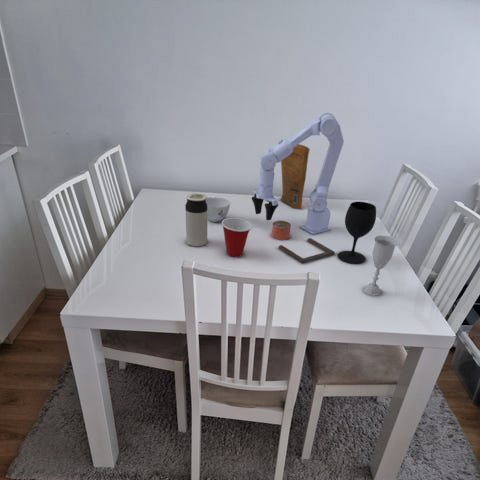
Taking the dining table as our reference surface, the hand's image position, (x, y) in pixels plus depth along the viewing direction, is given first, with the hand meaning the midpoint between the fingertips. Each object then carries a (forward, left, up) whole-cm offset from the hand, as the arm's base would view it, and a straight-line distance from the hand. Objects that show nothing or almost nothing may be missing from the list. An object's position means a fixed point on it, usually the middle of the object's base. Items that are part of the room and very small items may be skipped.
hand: (263, 216), depth 175 cm
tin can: (0, +12, -4) cm, 13 cm away
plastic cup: (+25, +17, -4) cm, 31 cm away
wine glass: (-12, +40, -4) cm, 42 cm away
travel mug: (+33, +2, -4) cm, 33 cm away
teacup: (+15, -16, -4) cm, 22 cm away
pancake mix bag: (-27, -16, -4) cm, 32 cm away
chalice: (0, +61, -4) cm, 62 cm away
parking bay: (0, +27, -4) cm, 28 cm away
